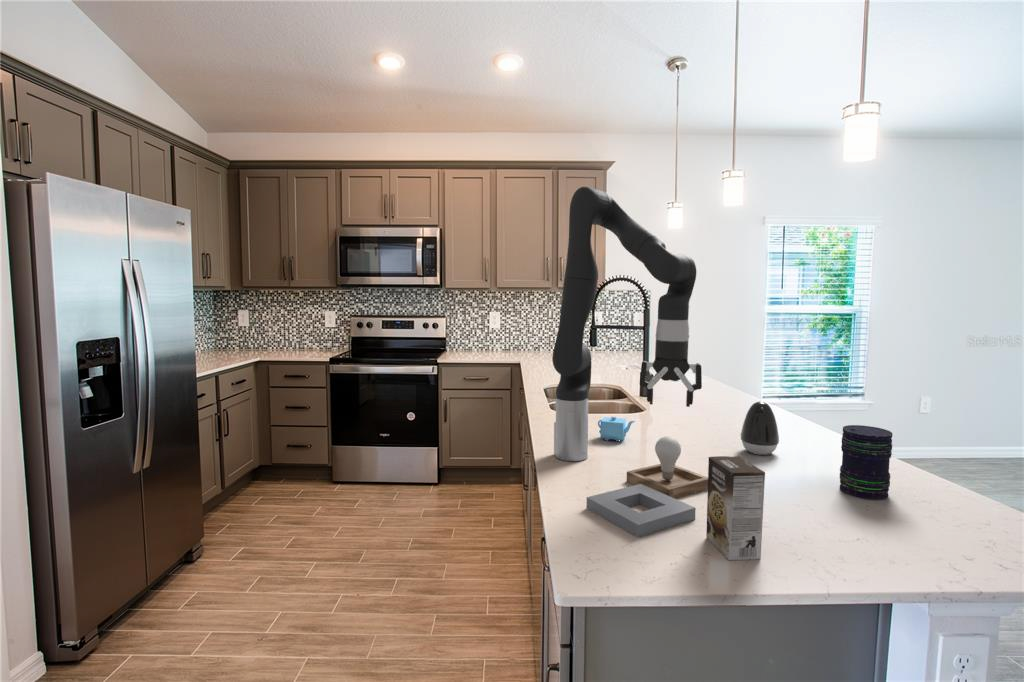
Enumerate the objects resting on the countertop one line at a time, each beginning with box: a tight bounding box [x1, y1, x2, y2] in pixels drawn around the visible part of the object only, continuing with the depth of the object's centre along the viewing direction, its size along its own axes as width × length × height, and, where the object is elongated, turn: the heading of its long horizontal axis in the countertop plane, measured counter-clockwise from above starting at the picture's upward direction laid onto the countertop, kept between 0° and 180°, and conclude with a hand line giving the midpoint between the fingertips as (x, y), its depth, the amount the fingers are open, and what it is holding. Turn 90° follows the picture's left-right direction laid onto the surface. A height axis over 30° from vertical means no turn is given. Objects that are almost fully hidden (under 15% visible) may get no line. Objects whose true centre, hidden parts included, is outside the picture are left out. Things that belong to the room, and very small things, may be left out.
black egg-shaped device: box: [740, 401, 780, 456], centre depth 154 cm, size 10×10×15 cm
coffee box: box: [706, 455, 766, 561], centre depth 96 cm, size 9×6×16 cm
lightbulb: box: [654, 435, 682, 481], centre depth 129 cm, size 6×6×11 cm
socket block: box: [586, 484, 696, 538], centre depth 112 cm, size 16×16×2 cm
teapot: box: [597, 415, 636, 442], centre depth 169 cm, size 12×6×8 cm, turn 69°
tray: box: [626, 463, 708, 499], centre depth 129 cm, size 14×14×2 cm
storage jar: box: [839, 424, 893, 501], centre depth 123 cm, size 10×10×15 cm
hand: (669, 405), depth 127 cm, fingers open, 8 cm apart
